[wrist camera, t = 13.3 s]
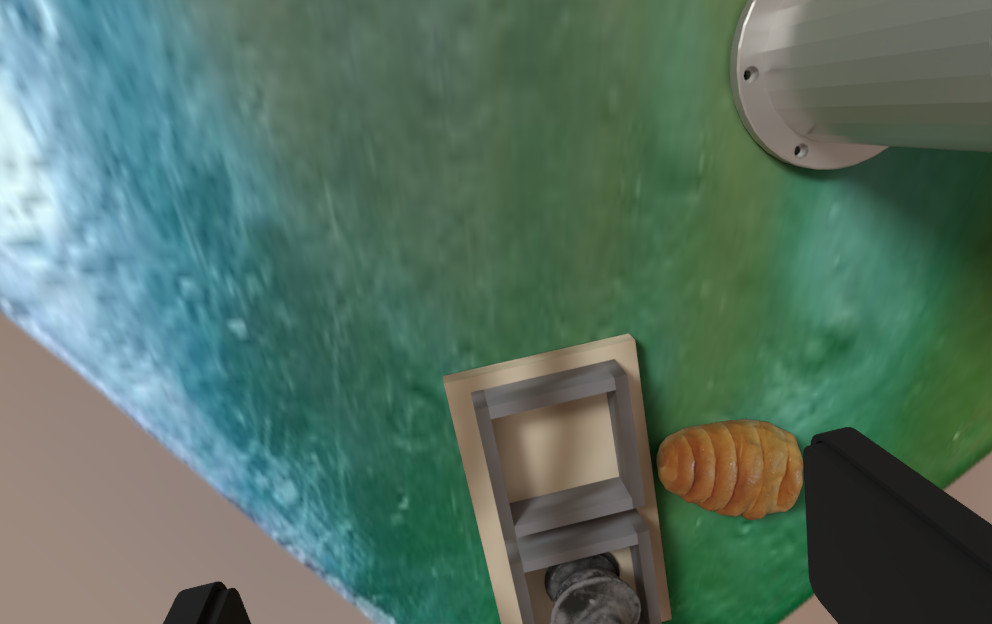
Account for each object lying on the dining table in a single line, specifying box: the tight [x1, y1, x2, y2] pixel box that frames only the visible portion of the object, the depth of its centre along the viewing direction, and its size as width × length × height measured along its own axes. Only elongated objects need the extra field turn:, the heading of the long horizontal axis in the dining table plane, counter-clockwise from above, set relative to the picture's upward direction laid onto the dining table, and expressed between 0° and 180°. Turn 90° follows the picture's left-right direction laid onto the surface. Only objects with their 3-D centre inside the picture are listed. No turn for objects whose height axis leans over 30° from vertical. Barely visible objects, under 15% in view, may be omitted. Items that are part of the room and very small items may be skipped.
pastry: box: [656, 419, 803, 520], centre depth 42 cm, size 9×7×4 cm
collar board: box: [443, 334, 672, 624], centre depth 41 cm, size 12×22×4 cm, turn 12°
